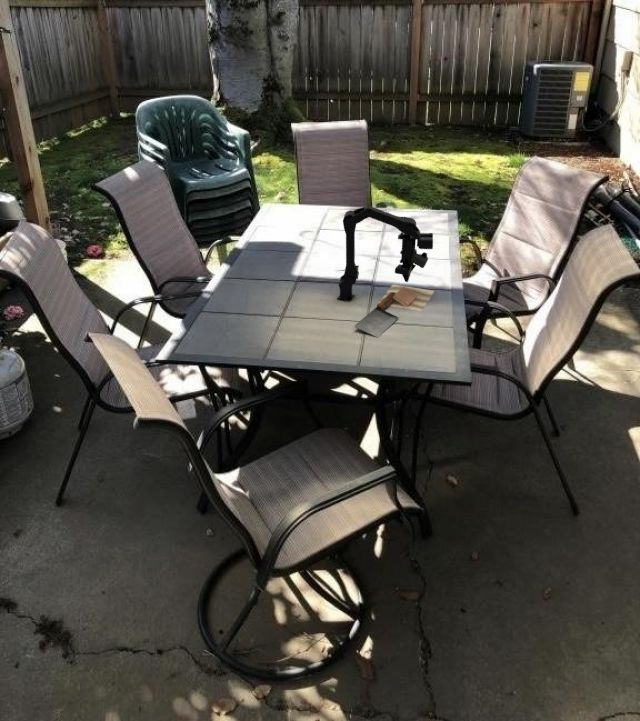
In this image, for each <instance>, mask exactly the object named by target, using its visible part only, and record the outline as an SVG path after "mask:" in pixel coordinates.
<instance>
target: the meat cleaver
mask: <svg viewBox="0 0 640 721" xmlns="http://www.w3.org/2000/svg"><path fill="white" fill-rule="evenodd" d="M395 294H396V293H395V292H391V293H390V294H389V295H388V296H387V297H385V298H384V299H383V300H382V301H381V302H380V303H379V302H378V303H377V304H376V306H375V308H373V309H372V311H370V312H369V313H368V314H366V316H364V317H363V318H361V320H359V321H358V322H357V323H356V324H355V325H354V329H357V330H360V331H362V332H364V333H367V334H368V335H372V336H373V337H374V338H375V337H376V338H379V337H380V336H381V335H382V334H384V333H385V332H386V330H387V329H388V328H389V327H391V325H393V324H394V323H395V322H396V321H397V320H398V319H399V317H398V316H396V315H395V314H392V313H390V312H388V311H386V310H385V309H386V308H388V307H389V306H388V305H389V304H391V303H392V302H393V300H395V299H394V298H393V297H394V295H395Z"/></svg>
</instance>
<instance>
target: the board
mask: <svg viewBox="0 0 640 721" xmlns="http://www.w3.org/2000/svg"><path fill="white" fill-rule="evenodd" d="M403 287H405V288H407V289H408V290H410V291H411V292H413V293H414V294H416V295H417V297H416V299H415V300H414V301H413V302H412V303H411V304H410V305H409V306H408V307H406V306H404V305H403V304H401V303H400V302H398V301H397V300H396V299H395V300H393V302H392V303H391V304H389V305H388V306H387V307H392V308H393V307H394V308H399V309H406V310H411V311H412V310H413V311H418V312H422V311H423V310H424V309H425V307H426V305H427V304H428V302H429V300H430V299H431V297H432V296H433V295H434V292H435V290H431V289H425V288H419V287H411V286H405V285H398V284H392V285H391V286H390V287H389V288H388V290H387V291H386V293H385V294H384V295H383V296H382V298H381V299H380V300H379V302H378V303H380V302H381V301H382V300H383V299H384V298H385V297H387V296H388V295H389V294H390V293H391V292H395V293H397V292H398V291H399V290H400V289H401V288H403Z"/></svg>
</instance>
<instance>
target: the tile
mask: <svg viewBox="0 0 640 721" xmlns="http://www.w3.org/2000/svg"><path fill="white" fill-rule="evenodd" d="M405 287H406V286H405ZM405 287H403V288H401V289H400V290H399V291H398V292H397V293H396V294H395V295H394V297H393V298H394V299H396V300H397V301H398V302H400V303H401V304H403V305H404V306H406V307H408V306H409V305H410V304H411V303H412V302H413V301H414V300H415V299H416V297H417V295H416V294H414V293H413V292H411V291H410V290H408V289H407V288H405Z"/></svg>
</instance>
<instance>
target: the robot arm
mask: <svg viewBox="0 0 640 721" xmlns="http://www.w3.org/2000/svg"><path fill="white" fill-rule="evenodd" d="M369 218H370V219H373V220H376V221H378V222H381V223H384V224H386V225H389V226H391V227H394V228H396V229H397V230H398V231H399V232H400V233H399V234H398V235H397V239H398V240H401V250H400V253H399V254H400V255H401V258H400V260H399V264H398V265H396V266H395V269H394V274H397V275H401V276H402V277H403V279H404V282H406V283H408V282H409V280H410V276H411V274H412V272H413V270H414V269H415V267H416V266H417V267H419V268H421V269H424V268H425V266H426V265H427V262H428V261H429V257H428V253H427V252H422V253H418V251H417V248H416V247H418V249H419V250H433V248H434V239H433V238H434V233H433V232H429V233H428V232H427V233H426V232H425V233H423V232H421V230H420V229H419V227H418V226H417V221H416V220H415V218H412V217H409V216H398V215H395V214H392V213H390V212H387V211H384V210H381V209H379V208H378V207H373V206H372V205H365V206H362V207H359V208H356V209H353V210H347V211H346V212H345V213H344V216H343V220H342V224H343V230H344V233H345V268H344V274H343V275H342V276H340V278H339V283H338V287H339V295H338V297H337V298H336V300H337V301H345V302H351V301H352V300H353V299H354V298H355V297H356V295H355V294H353V285H354V284H356V282H357V280H358V279H359V275H360V272H359V266H360V265H359V264H358V265H356V262H355V261H356V259H355V258H356V257H355V256H356V245H355V244H356V241H355V240H356V239H355V238H356V235H355V234H356V229H357V228H356V227H357V224H359V223H361V222H363V221H364V220H366V219H369Z"/></svg>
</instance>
